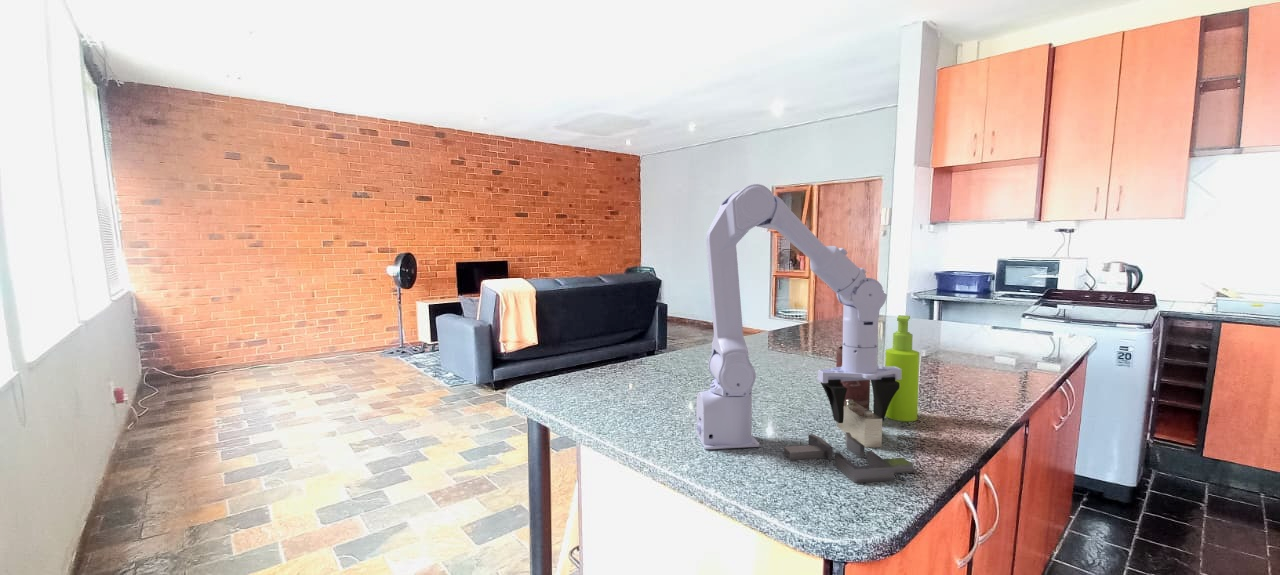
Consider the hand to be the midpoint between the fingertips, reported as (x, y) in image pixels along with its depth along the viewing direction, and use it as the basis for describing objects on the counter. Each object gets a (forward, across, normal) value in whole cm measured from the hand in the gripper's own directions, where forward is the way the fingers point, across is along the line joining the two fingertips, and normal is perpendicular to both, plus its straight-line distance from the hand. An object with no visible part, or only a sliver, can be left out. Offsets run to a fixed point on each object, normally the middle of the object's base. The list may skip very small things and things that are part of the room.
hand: (858, 420), depth 88 cm
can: (+3, +4, +9) cm, 10 cm away
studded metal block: (+3, 0, 0) cm, 3 cm away
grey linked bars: (+3, -7, -10) cm, 13 cm away
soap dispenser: (+3, +14, +9) cm, 17 cm away
